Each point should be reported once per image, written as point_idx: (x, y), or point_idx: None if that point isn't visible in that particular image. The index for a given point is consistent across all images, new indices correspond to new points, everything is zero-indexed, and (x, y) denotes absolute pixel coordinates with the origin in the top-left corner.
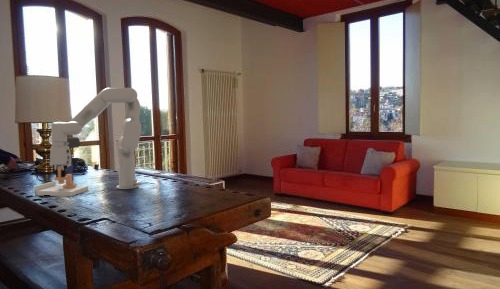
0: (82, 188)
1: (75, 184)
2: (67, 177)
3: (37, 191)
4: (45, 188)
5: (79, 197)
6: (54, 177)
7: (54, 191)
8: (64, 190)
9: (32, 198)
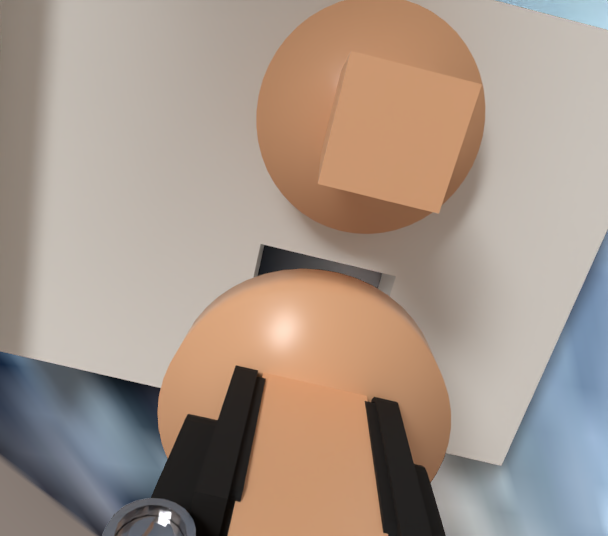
0: (604, 225)
1: (482, 117)
2: (447, 420)
3: (10, 347)
4: (10, 188)
5: (588, 489)
6: None
7: None
8: None
9: (84, 467)
